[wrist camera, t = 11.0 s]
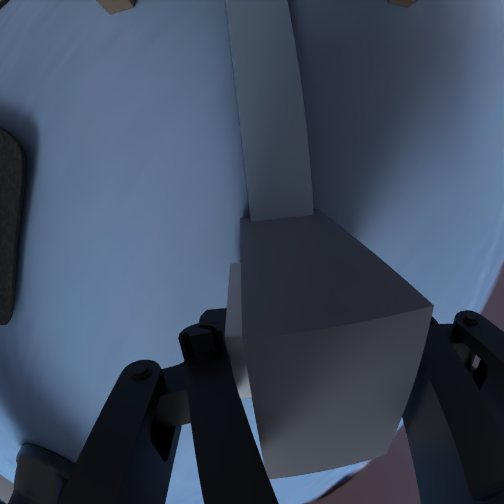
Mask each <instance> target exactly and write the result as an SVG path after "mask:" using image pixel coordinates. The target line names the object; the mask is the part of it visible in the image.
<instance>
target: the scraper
mask: <svg viewBox="0 0 504 504" xmlns="http://www.w3.org/2000/svg"><path fill="white" fill-rule="evenodd" d="M225 5H226V14H227V22H228V30H229V39H230V47H231V56H232V64H233V73H234V81H235V90H236V98H237V107H238V115H239V124H240V132H241V141H242V150H243V158H244V167H245V176H246V184H247V193H248V202H249V210H250V217H248V218H240V238H241V308H242V342H243V348H244V354H245V360H246V366H247V372H248V378H249V384H250V390H251V396H252V401H253V407H254V412H255V418H256V424H257V429H258V434H259V440H260V445H261V451H262V456H263V461H264V466H265V470H266V473H267V475H268V478H269V479H275V478H283V477H291V476H298V475H304V474H310V473H315V472H321V471H326V470H330V469H335V468H339V467H344V466H348V465H352V464H355V463H359V462H363V461H366V460H370V459H373V458H377V457H380V456H383V455H385V454H386V453H387V451H388V448H389V446H390V444H391V442H392V440H393V437H394V435H395V433H396V430H397V428H398V425H399V423H400V420H401V418H402V415H403V413H404V410H405V407H406V405H407V402H408V399H409V396H410V393H411V390H412V387H413V384H414V381H415V378H416V375H417V371H418V368H419V365H420V361H421V358H422V354H423V350H424V347H425V343H426V339H427V335H428V330H429V326H430V321H431V317H432V312H433V307H434V305H433V304H431V303H430V302H429V301H428V300H427V299H426V298H425V297H424V296H423V295H422V294H420V293H419V292H418V291H417V290H416V289H415V288H414V287H413V286H412V285H410V284H409V283H408V282H407V281H406V280H405V279H404V278H402V277H401V276H400V275H399V274H398V273H397V272H395V271H394V270H393V269H392V268H391V267H390V266H388V265H387V264H386V263H385V262H384V261H382V260H381V259H380V258H379V257H378V256H376V255H375V254H374V253H373V252H372V251H370V250H369V249H368V248H367V247H365V246H364V245H363V244H362V243H361V242H359V241H358V240H357V239H356V238H354V237H353V236H352V235H351V234H349V233H348V232H347V231H345V230H344V229H343V228H342V227H340V226H339V225H338V224H336V223H335V222H334V221H333V220H331V219H330V218H329V217H327V216H326V215H325V214H323V213H322V212H321V211H319V210H314V207H313V192H312V179H311V167H310V156H309V145H308V135H307V126H306V117H305V109H304V101H303V93H302V85H301V78H300V71H299V64H298V58H297V52H296V45H295V39H294V34H293V28H292V22H291V17H290V12H289V7H288V2H287V0H225Z"/></svg>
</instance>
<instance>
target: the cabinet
mask: <svg viewBox="0 0 504 504" xmlns="http://www.w3.org/2000/svg"><path fill="white" fill-rule="evenodd" d="M96 1H97V2H98V3H99V4H100V5H101V6H102V7H103V8H104V9H105V10H106V11H107V12H108V13H109V14H110V15H111V14H114V13H117V12H120V11H123V10H127V9H130V8H133V7H134V0H96ZM387 1H388V3H392V4H396V5H400V6H404V7H407V8H408V7H409V6H411V5H412V4H413V3H414V2H416V1H417V0H387Z"/></svg>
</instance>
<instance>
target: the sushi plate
mask: <svg viewBox="0 0 504 504" xmlns="http://www.w3.org/2000/svg"><path fill="white" fill-rule="evenodd" d="M8 1H9V0H1V1H0V8H1V7H2V6H3V5H4V4H5V3H7V2H8ZM25 179H26V158H25V151H24V149H23V146H22V144H21V143H20V141H19V140H18V139H17V138H16V137H15V136H14V135H13V134H11V133H10V132H9V131H7V130H5V129H3V128H1V127H0V325H7V324H8V322H9V321H10V320H11V317H12V314H13V308H14V298H15V279H16V262H17V249H18V239H19V230H20V221H21V213H22V206H23V198H24V189H25Z"/></svg>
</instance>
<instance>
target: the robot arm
mask: <svg viewBox="0 0 504 504" xmlns="http://www.w3.org/2000/svg"><path fill="white" fill-rule="evenodd" d="M178 339H179V342H180V346H181V350H182V353H183V357H184V362H183V363H181V364H179V365H176V366H173V367H168V368H164V369H161V367H160V366H159V364H158V363H156V362H155V361H152V360H139V361H136V362H133V363H131V364H129V365H128V366H126V367H125V368H124V370H123V371H122V372H121V374H120V376H119V378H118V380H117V382H116V384H115V386H114V387H113V389H112V391H111V393H110V395H109V397H108V399H107V401H106V403H105V405H104V407H103V409H102V411H101V413H100V415H99V417H98V419H97V421H96V423H95V425H94V427H93V429H92V431H91V433H90V435H89V437H88V439H87V441H86V443H85V445H84V447H83V449H82V452H81V454H80V456H79V458H78V460H77V462H76V464H73V463H72V462H70V461H68V460H66V459H64V458H62V457H60V456H58V455H57V454H54V453H52V452H50V451H48V450H46V449H43V448H41V447H38V446H35V445H31V444H24V445H23V446H22V447H21V449H20V451H19V453H18V454H17V457H16V462H17V468H16V473H15V480H14V490H13V493H12V496H11V498H10V500H9V503H8V504H165V502H166V497H167V492H168V487H169V482H170V477H171V472H172V468H173V463H174V458H175V454H176V449H177V445H178V440H179V436H180V431H181V427H182V426H181V425H184V424H188V423H191V426H192V434H193V441H194V448H195V454H196V461H197V467H198V473H199V479H200V484H201V490H202V495H203V500H204V504H279V503H278V501H277V498H276V496H275V493H274V491H273V488H272V486H271V483H270V481H269V478H268V475H267V473H266V470H265V467H264V465H263V462H262V459H261V456H260V454H259V451H258V448H257V445H256V443H255V440H254V437H253V434H252V431H251V428H250V425H249V422H248V420H247V417H246V414H245V411H244V408H243V405H242V402H241V399H244V398H252V396H251V390H250V384H249V378H248V372H247V366H246V360H245V354H244V348H243V342H242V308H241V263H234V264H230V276H229V287H228V300H227V308H223V309H212V310H206V311H205V312H204V313H203V314H202V315H201V316H200V321H199V323H198V324H195V325H191V326H189V327H187V328H185V329H184V330H183V331H182V332H181V333H180V334H179V338H178ZM475 355H477V356H478V357H479V358H480V359H481V360H480V362H479V365H478V367H477V368H474V367H473V366H472V364H473V361H474V358H475ZM402 418H403V422H404V425H405V429H406V433H407V437H408V441H409V446H410V450H411V455H412V459H413V464H414V468H415V473H416V479H417V484H418V489H419V495H420V501H421V504H504V332H503V331H502V330H500V329H499V328H498V327H497V326H495V325H494V324H493V323H491V322H490V321H489V320H487V319H486V318H485V317H483V316H482V315H480V314H478V313H477V312H473V311H470V310H469V311H468V310H466V311H460V312H459V313H457V314H456V316H455V319H454V323H453V324H438V322H437V321H436V320H435V319H434V318H433V317H431V321H430V326H429V330H428V335H427V339H426V343H425V347H424V350H423V354H422V358H421V361H420V365H419V368H418V371H417V375H416V378H415V381H414V384H413V387H412V390H411V393H410V396H409V399H408V402H407V405H406V407H405V410H404V413H403V415H402ZM0 504H6V503H5V502H3V501H2V500H1V499H0Z"/></svg>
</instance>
